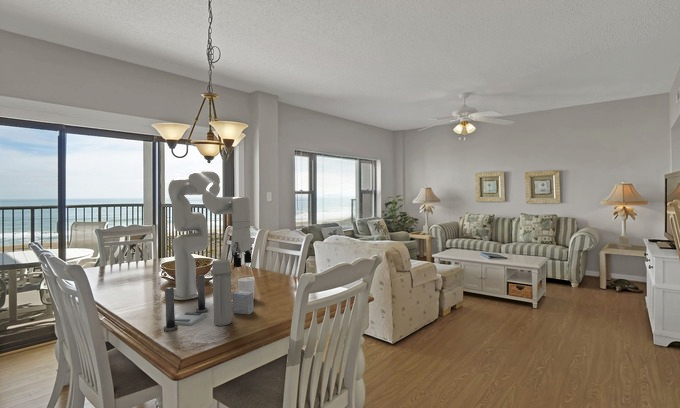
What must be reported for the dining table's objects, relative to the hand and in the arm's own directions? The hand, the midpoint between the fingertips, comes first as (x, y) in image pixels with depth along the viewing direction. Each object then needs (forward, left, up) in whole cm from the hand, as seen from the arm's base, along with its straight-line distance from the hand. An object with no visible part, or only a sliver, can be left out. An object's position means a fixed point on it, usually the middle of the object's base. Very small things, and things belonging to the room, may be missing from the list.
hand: (242, 264), depth 155 cm
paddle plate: (-19, -12, -21) cm, 31 cm away
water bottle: (-2, -14, -21) cm, 26 cm away
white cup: (-7, +18, -21) cm, 29 cm away
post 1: (-19, -22, -21) cm, 36 cm away
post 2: (-19, -1, -21) cm, 29 cm away
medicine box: (0, 0, -21) cm, 21 cm away
